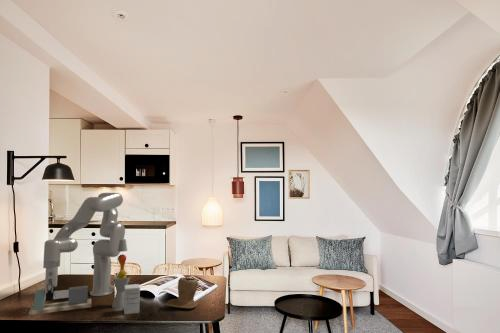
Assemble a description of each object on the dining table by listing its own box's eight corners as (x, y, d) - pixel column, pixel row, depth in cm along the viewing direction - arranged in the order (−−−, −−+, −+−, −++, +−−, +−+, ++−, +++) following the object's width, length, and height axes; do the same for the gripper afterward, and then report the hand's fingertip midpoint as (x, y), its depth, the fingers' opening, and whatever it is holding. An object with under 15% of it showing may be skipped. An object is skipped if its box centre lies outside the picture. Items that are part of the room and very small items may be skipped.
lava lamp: (109, 304, 182) (112, 238, 185) (127, 301, 187) (129, 237, 190) (113, 309, 175) (115, 240, 178) (131, 306, 180) (133, 239, 182)
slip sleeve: (87, 300, 184) (87, 285, 185) (87, 303, 180) (88, 287, 181) (68, 302, 180) (69, 287, 181) (68, 305, 176) (68, 289, 177)
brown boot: (201, 304, 183) (202, 276, 185) (191, 311, 172) (191, 281, 173) (176, 301, 188) (177, 274, 189) (165, 308, 177) (165, 279, 178)
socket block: (44, 305, 176) (45, 289, 177) (43, 309, 170) (44, 292, 171) (35, 306, 175) (36, 290, 175) (33, 310, 168) (34, 293, 169)
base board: (91, 301, 187) (91, 298, 187) (91, 306, 178) (91, 304, 179) (31, 308, 175) (31, 305, 175) (28, 315, 166) (28, 312, 166)
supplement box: (123, 310, 174) (124, 284, 175) (138, 308, 177) (139, 283, 178) (123, 314, 167) (124, 288, 168) (139, 313, 170) (140, 287, 171)
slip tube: (76, 294, 181) (76, 288, 182) (76, 296, 179) (76, 290, 179) (41, 298, 174) (41, 292, 175) (40, 300, 171) (40, 294, 172)
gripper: (59, 266, 170) (57, 301, 169) (60, 260, 185) (59, 292, 184) (41, 267, 167) (39, 303, 165) (45, 261, 182) (43, 294, 181)
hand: (50, 297), depth 175 cm, fingers open, 9 cm apart
